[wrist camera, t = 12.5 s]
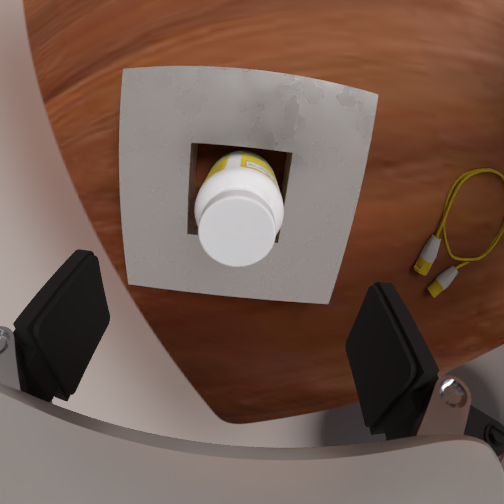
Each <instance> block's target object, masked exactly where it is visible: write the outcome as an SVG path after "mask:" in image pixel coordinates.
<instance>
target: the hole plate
mask: <svg viewBox="0 0 504 504" xmlns="http://www.w3.org/2000/svg"><path fill="white" fill-rule="evenodd" d="M377 101H378V94H375V93H371V92H368V91H364V90H360V89H357V88H353V87H349V86H345V85H341V84H337V83H332V82H328V81H323V80H318V79H313V78H308V77H302V76H296V75H290V74H284V73H277V72H269V71H261V70H252V69H241V68H228V67H208V66H160V67H141V68H128V69H123V77H122V89H121V103H120V125H119V182H120V205H121V220H122V232H123V243H124V253H125V262H126V270H127V277H128V284H131V285H138V286H146V287H153V288H161V289H169V290H177V291H185V292H194V293H203V294H212V295H222V296H232V297H242V298H253V299H265V300H277V301H290V302H304V303H319V304H329V301H330V298H331V295H332V291H333V288H334V285H335V282H336V279H337V275H338V272H339V269H340V265H341V262H342V259H343V255H344V252H345V248H346V244H347V241H348V237H349V233H350V230H351V226H352V222H353V218H354V214H355V210H356V206H357V202H358V198H359V194H360V189H361V185H362V181H363V176H364V172H365V167H366V162H367V157H368V152H369V147H370V142H371V137H372V131H373V125H374V120H375V114H376V107H377ZM198 143H203V144H217V145H229V146H240V147H250V148H259V149H267V150H275V151H283V152H287V155H286V161H285V168H284V175H283V181H282V188H281V196H282V200H283V205H284V217H283V222H282V225H281V228H280V230H279V231H278V233H277V235H276V238H275V242H274V245H273V247H272V249H271V250H270V252H269V253H268V254H267V255H266V256H265V257H264V258H263V259H261V260H260V261H258V262H257V263H255V264H252V265H249V266H243V267H232V266H227V265H224V264H221V263H219V262H217V261H215V260H214V259H212V258H211V257H210V256H209V255H208V254H207V253H206V252H205V250H204V249H203V247H202V245H201V243H200V240H199V236H198V226H197V223H196V219H194V208H195V187H196V169H197V154H198Z"/></svg>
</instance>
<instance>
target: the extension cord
mask: <svg viewBox="0 0 504 504" xmlns="http://www.w3.org/2000/svg"><path fill="white" fill-rule="evenodd" d="M482 172H492V173H495V174H498V175H499V176H500V177H501V178H502V180H503V182H504V176H503V175H502V174H501V173H500V172H498V171H496V170H494V169H490V168H480V169H475V170H471V171H468V172H466V173H464V174H462V175H461V176H459V177H458V178H457V179H456V181H455V182H454V183H453V185H452V186H451V188H450V190H449V192H448V195H447V198H446V201H445V205H444V210H443V219H442V222H441V224H440V226H439V229H438V231H437V234H436V235H434V234H432V236H431V237H430V239H429V240H428V241H427V243H426V244H425V246H424V248H423V249H422V251H421V253H420V255H419V257H418V259H417V262H416V264H415V265H414V270H415V271H416V272H418V273H419V274H422V275H427V273H428V271H429V269H430V268H431V266H432V264H433V262H434V260H435V258H436V257H437V256H436V255H437V253H438V249H439V245H440V241H441V238H440V237H439V234H440V232H441V230H442V227H443V236H444V241H445V245H446V248H447V251H448V254H449V255H450V256H451V257H452V258H453V259H455V260H459V261H476V260H480V259H481V258H483V257H484V256H486V255H487V254H488V253H489V252H490V251H491V250H492V248H493V247H494V246H495V245H496V243H497V242H498V240H499V238H500V237H501V235H502V233H503V231H504V221H503V224H502V226H501V228H500V230H499V232H498V234H497V235H496V237H495V239H494V240H493V242H492V243H491V245H492V246H491V245H490V246H489V247H488V249H487V250H486V251H485V252H484V253H483V254H481V256H479V257H476V258H459V257H456V256H454V255H453V254H452V253H451V251H450V249H449V245H448V241H447V237H446V229H445V220H446V217H447V215H448V212H449V210H450V207H451V205H452V202H453V200H454V198H455V196H456V194H457V192H458V190H459V188H460V187H461V185H462V184H463V183H464V182H465V180H467V179H468V178H469V177H471V176H473V175H475V174H478V173H482ZM463 177H464V178H463ZM462 178H463V179H462ZM461 179H462V180H461ZM460 180H461V181H460ZM459 181H460V182H459ZM458 182H459V184H458V185H457V187H456V189H455V191H454V193H453V195H452V197H451V199H450V202H449V204H448V201H449V198H450V195H451V193H452V191H453V189H454V187H455V186H456V184H457V183H458ZM447 205H448V206H447ZM468 263H469V262H464V263H461V264H459V265H458V266H456V267H454V266H453V265H452V266H451V267H449V268H448V269H446V270H445V271H443V272H442V273H441V274H439V275H438V276H437V277H436V278H435V281H434V282H433V283H431V284H430V285H429V286H428V287H427V289H428V291H429V292H430V293H431V295H432V296H433V297H434V298H435V297H436V296H437V295H438V294H439V293H440V292H441V291H442V290H443V291H444V290H445V289H446V288H447V287H448V286H449V284H450V283H451V282H452V281H453V279H454V278H455V276H456V275H457V273H458V271H457V269H458V268H460V267H462V266H464V265H466V264H468Z"/></svg>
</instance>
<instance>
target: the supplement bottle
mask: <svg viewBox="0 0 504 504" xmlns="http://www.w3.org/2000/svg"><path fill="white" fill-rule="evenodd" d="M194 213H195V219H196V223H197V226H198V236H199V240H200V243H201V245H202V247H203V249H204V250H205V252H206V253H207V254H208V255H209V256H210V257H211V258H212V259H214V260H215V261H217V262H219V263H221V264H224V265H227V266H232V267H243V266H249V265H252V264H255V263H257V262H258V261H260V260H261V259H263V258H264V257H265V256H266V255H267V254H268V253H269V252H270V250H271V249H272V247H273V245H274V242H275V238H276V235H277V233H278V231H279V230H280V228H281V225H282V222H283V217H284V205H283V200H282V196H281V193H280V190H279V187H278V183H277V180H276V177H275V174H274V172H273V169H272V168H271V166H270V165H269V163H268V162H267V161H266V160H265V159H264V158H263V157H261V156H260V155H258V154H256V153H253V152H250V151H234V152H230V153H228V154H226V155H224V156H222V157H221V158H220V159H219V160H218V161H217V162H216V163H215V164H214V165H213V167H212V168H211V170H210V172H209V174H208V176H207V177H206V179H205V181H204V183H203V184H202V186H201V188H200V190H199V192H198V195H197V197H196V201H195V208H194Z"/></svg>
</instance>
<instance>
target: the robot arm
mask: <svg viewBox="0 0 504 504" xmlns="http://www.w3.org/2000/svg"><path fill="white" fill-rule="evenodd" d="M109 321H110V314H109V310H108V305H107V302H106V297H105V292H104V288H103V283H102V278H101V273H100V267H99V261H98V258H97V257H96V256H94V253H93V252H92V251H87V250H76V251H75V252H74V253H73V254H72V255H71V256H70V257H69V258H68V259H67V260H66V261H65V263H64V264H63V265H62V266H61V267H60V268H59V269H58V270H57V271H56V272H55V274H54V275H53V276H52V277H51V278H50V279H49V280H48V281H47V283H46V284H45V285H44V286H43V287H42V288H41V290H40V291H39V292H38V293H37V294H36V296H35V297H34V298H33V299H32V300H31V302H30V303H29V304H28V305H27V307H26V308H25V309H24V310H23V312H22V313H21V314H20V315H19V317H18V318H17V319H16V321H15V322H14V326H15V328H16V329H15V331H14V332H12V331H11V330H10V329H9V328H7V327H3V326H0V504H504V426H503V425H502V424H501V423H499V422H498V421H496V420H494V419H493V418H491V417H490V416H488V415H486V414H484V413H483V412H481V411H480V410H478V409H476V408H475V407H473V406H471V405H470V404H471V395H470V391H469V389H468V388H467V386H466V385H465V384H464V383H463V382H462V381H461V380H460V379H458V378H457V377H454V376H449V375H446V376H442V377H441V378H438V376H437V373H438V372H439V369H438V367H437V365H436V362H435V360H434V358H433V356H432V354H431V352H430V350H429V348H428V347H427V345H426V343H425V341H424V339H423V337H422V335H421V333H420V331H419V329H418V328H417V326H416V324H415V322H414V320H413V318H412V317H411V315H410V313H409V311H408V310H407V308H406V306H405V304H404V303H403V301H402V299H401V297H400V296H399V294H398V292H397V291H396V289H395V287H394V286H393V284H392V283H384V282H376V283H375V284H374V285H373V286H370V287H369V289H368V291H367V294H366V296H365V299H364V301H363V304H362V306H361V309H360V311H359V313H358V316H357V318H356V321H355V323H354V325H353V327H352V330H351V332H350V334H349V337H348V339H347V341H346V352H347V356H348V359H349V363H350V366H351V370H352V374H353V378H354V382H355V385H356V389H357V393H358V397H359V401H360V405H361V409H362V414H363V418H364V422H365V425H366V426H367V427H369V428H370V431H371V435H374V434H381V433H385V434H386V438H387V439H386V440H385V441H381V442H372V443H364V444H355V445H344V446H332V447H314V448H313V447H312V448H264V447H244V446H230V445H220V444H211V443H203V442H195V441H189V440H182V439H176V438H171V437H165V436H160V435H156V434H151V433H146V432H142V431H137V430H133V429H129V428H125V427H121V426H118V425H114V424H110V423H107V422H104V421H100V420H97V419H94V418H91V417H88V416H85V415H82V414H79V413H76V412H73V411H70V410H67V409H65V408H62V407H59V406H57V405H54V404H52V399H53V397H54V396H55V397H57V398H59V399H62V400H64V401H68V399H69V396H70V394H71V395H72V394H74V393H75V391H76V389H77V387H78V385H79V383H80V381H81V378H82V376H83V374H84V372H85V370H86V368H87V366H88V364H89V362H90V360H91V358H92V355H93V353H94V352H95V350H96V348H97V346H98V344H99V342H100V340H101V338H102V336H103V334H104V332H105V330H106V328H107V326H108V324H109Z"/></svg>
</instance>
